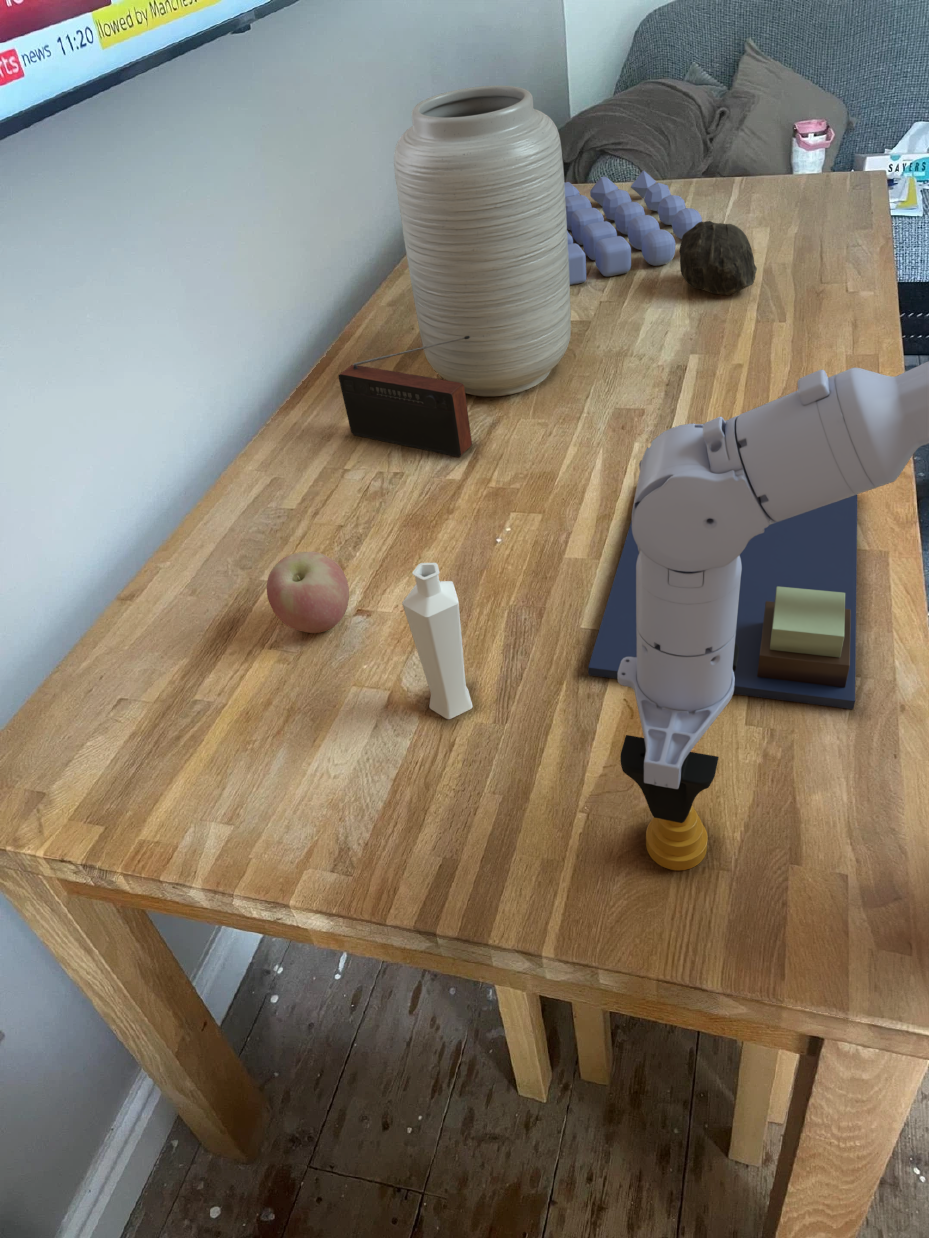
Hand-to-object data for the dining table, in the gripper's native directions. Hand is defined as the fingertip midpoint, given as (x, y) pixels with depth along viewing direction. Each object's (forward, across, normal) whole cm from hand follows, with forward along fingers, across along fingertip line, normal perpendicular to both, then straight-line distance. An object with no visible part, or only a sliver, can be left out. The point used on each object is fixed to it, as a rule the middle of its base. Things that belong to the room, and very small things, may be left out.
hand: (679, 771), depth 64 cm
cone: (+8, 0, 0) cm, 8 cm away
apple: (+9, -17, -38) cm, 43 cm away
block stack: (+7, -21, +7) cm, 23 cm away
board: (+8, -31, 0) cm, 32 cm away
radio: (+9, -51, -41) cm, 66 cm away
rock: (+9, -99, -12) cm, 100 cm away
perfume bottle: (+9, -10, -21) cm, 25 cm away
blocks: (+9, -117, -36) cm, 123 cm away
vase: (+9, -70, -36) cm, 79 cm away
